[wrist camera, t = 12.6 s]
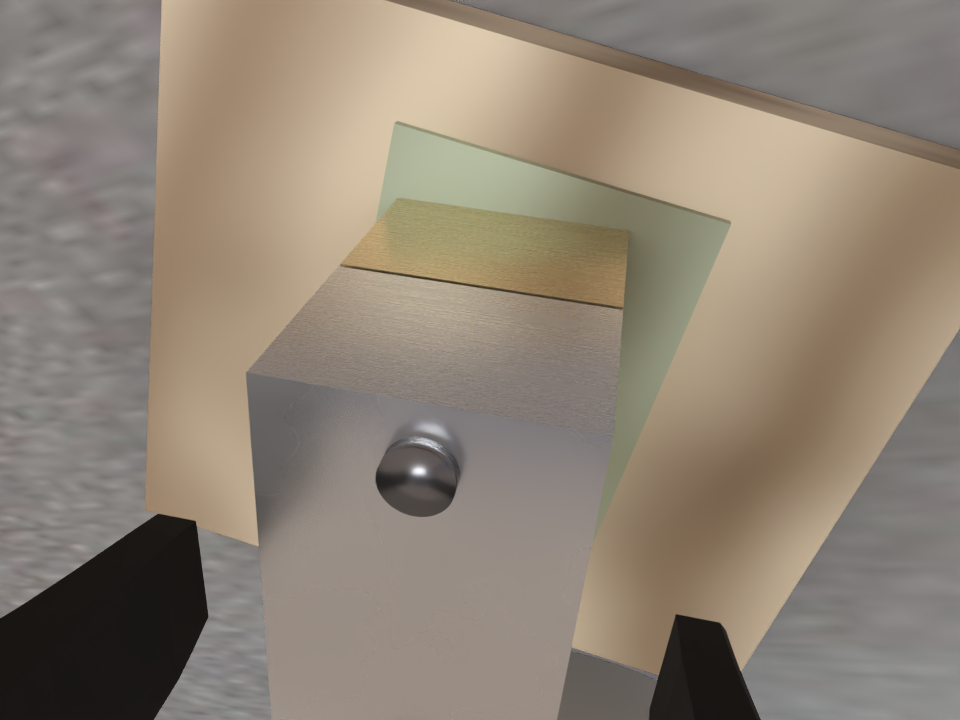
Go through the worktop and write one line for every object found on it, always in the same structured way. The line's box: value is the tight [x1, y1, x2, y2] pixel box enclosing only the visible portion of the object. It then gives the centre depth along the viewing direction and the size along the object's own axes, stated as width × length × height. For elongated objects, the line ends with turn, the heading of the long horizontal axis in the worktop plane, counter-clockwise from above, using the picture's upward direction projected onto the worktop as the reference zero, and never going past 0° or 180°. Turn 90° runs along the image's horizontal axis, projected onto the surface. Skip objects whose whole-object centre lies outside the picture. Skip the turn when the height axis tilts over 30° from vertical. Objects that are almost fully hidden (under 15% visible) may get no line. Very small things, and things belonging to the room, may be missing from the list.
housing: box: [246, 198, 629, 720], centre depth 15 cm, size 8×4×7 cm, turn 175°
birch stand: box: [145, 0, 960, 676], centre depth 19 cm, size 16×14×2 cm
